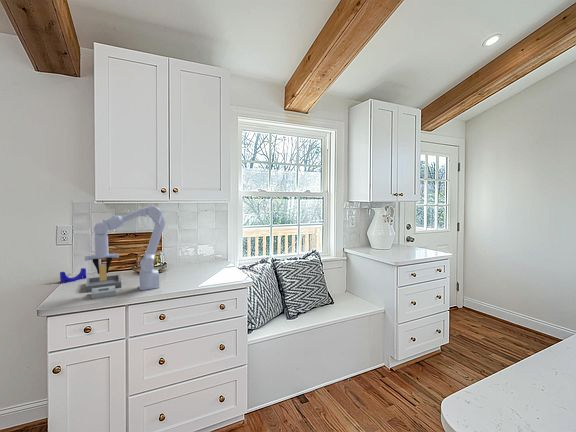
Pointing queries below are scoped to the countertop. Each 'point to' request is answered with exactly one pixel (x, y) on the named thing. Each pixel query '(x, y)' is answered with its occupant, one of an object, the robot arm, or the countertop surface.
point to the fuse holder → (103, 292)
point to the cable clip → (66, 279)
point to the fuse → (102, 272)
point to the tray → (103, 282)
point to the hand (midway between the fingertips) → (102, 273)
